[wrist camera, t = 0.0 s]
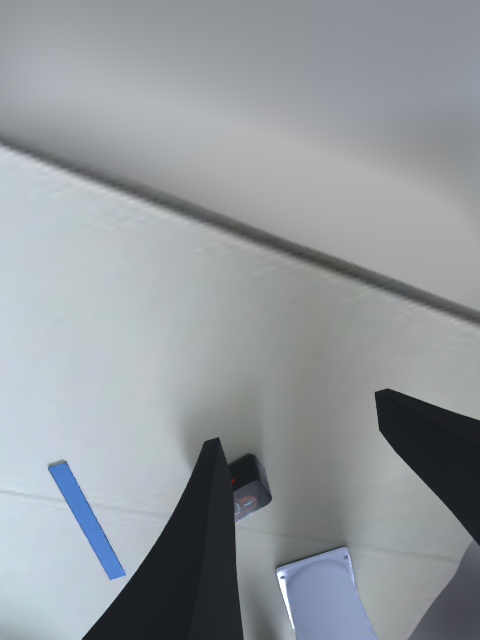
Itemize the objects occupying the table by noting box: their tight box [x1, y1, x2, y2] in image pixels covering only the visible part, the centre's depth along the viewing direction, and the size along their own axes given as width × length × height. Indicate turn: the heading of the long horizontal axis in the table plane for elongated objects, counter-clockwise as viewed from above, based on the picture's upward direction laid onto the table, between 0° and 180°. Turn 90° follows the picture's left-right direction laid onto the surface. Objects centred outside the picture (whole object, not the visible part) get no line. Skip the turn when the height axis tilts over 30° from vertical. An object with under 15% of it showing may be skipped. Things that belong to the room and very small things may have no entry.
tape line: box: [48, 462, 125, 580], centre depth 23 cm, size 14×2×1 cm, turn 14°
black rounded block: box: [228, 453, 272, 522], centre depth 22 cm, size 5×7×3 cm, turn 120°
